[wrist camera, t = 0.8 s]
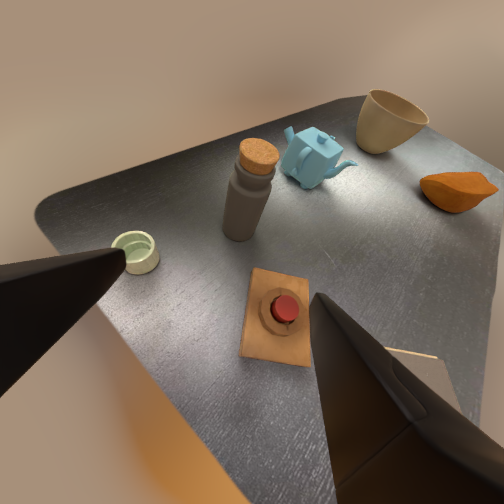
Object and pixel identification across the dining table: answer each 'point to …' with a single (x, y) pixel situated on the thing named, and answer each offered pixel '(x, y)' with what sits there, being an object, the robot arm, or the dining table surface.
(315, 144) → the teapot
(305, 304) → the block
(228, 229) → the bottle
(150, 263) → the mint green cup
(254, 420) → the dining table surface
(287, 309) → the tare button
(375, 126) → the deep tan bowl
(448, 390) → the pan
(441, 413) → the robot arm
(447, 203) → the bread
